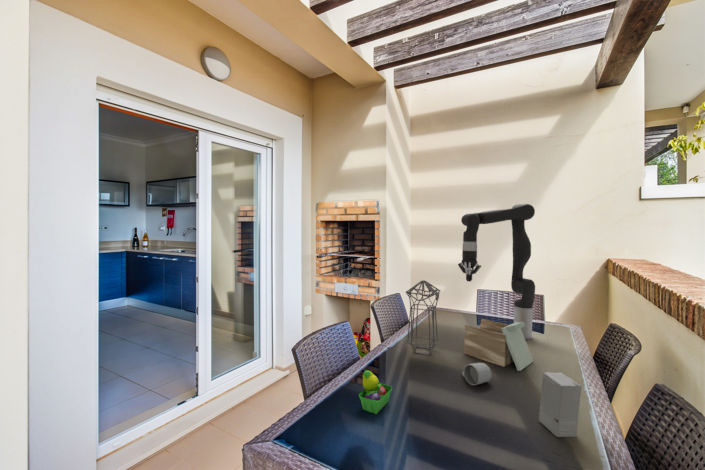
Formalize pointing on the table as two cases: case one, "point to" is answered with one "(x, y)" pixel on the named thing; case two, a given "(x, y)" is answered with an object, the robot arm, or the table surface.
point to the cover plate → (517, 345)
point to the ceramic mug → (477, 373)
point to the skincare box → (559, 404)
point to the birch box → (488, 343)
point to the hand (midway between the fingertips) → (468, 281)
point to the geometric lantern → (423, 309)
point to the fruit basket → (374, 393)
